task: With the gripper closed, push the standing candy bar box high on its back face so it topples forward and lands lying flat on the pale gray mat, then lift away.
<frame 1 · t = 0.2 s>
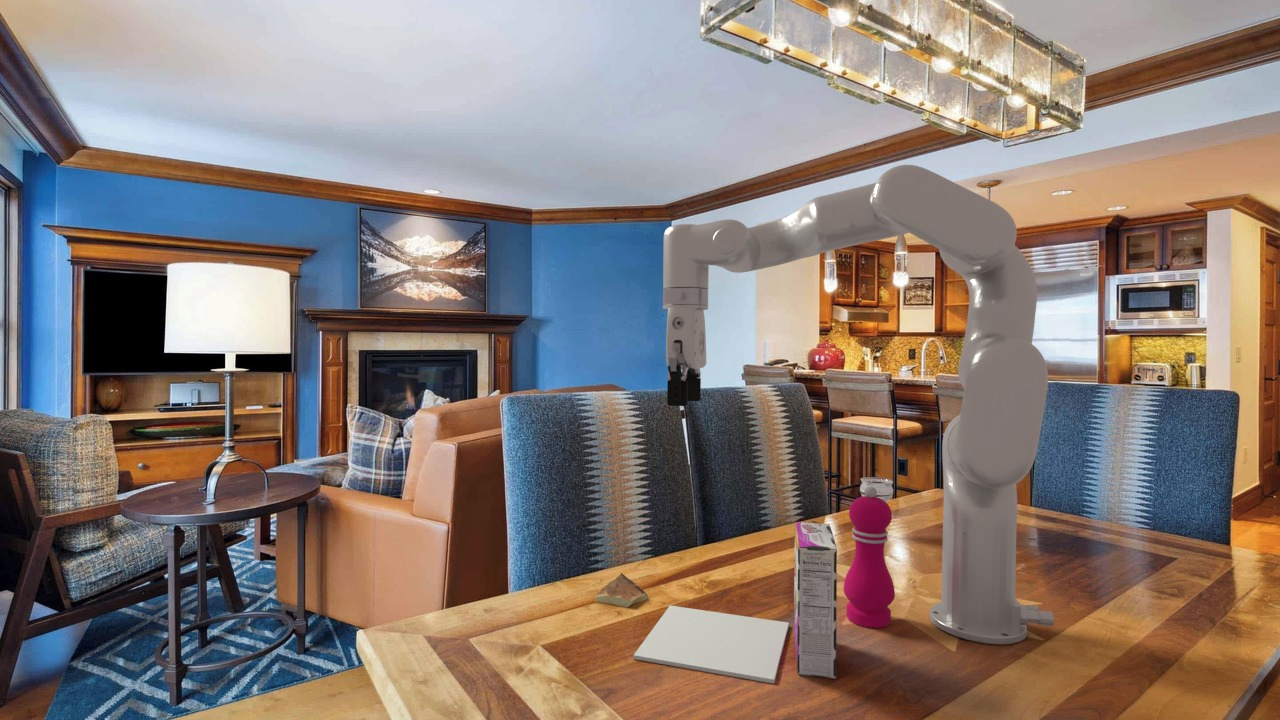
hand: (684, 403, 108), 31 cm above the table, fingers open, 9 cm apart
pepper mill: (868, 620, 97), on the table
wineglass: (875, 536, 140), on the table
shard: (615, 598, 106), on the table
pale gray mat: (715, 641, 89), on the table
candy bar box: (813, 658, 85), on the table
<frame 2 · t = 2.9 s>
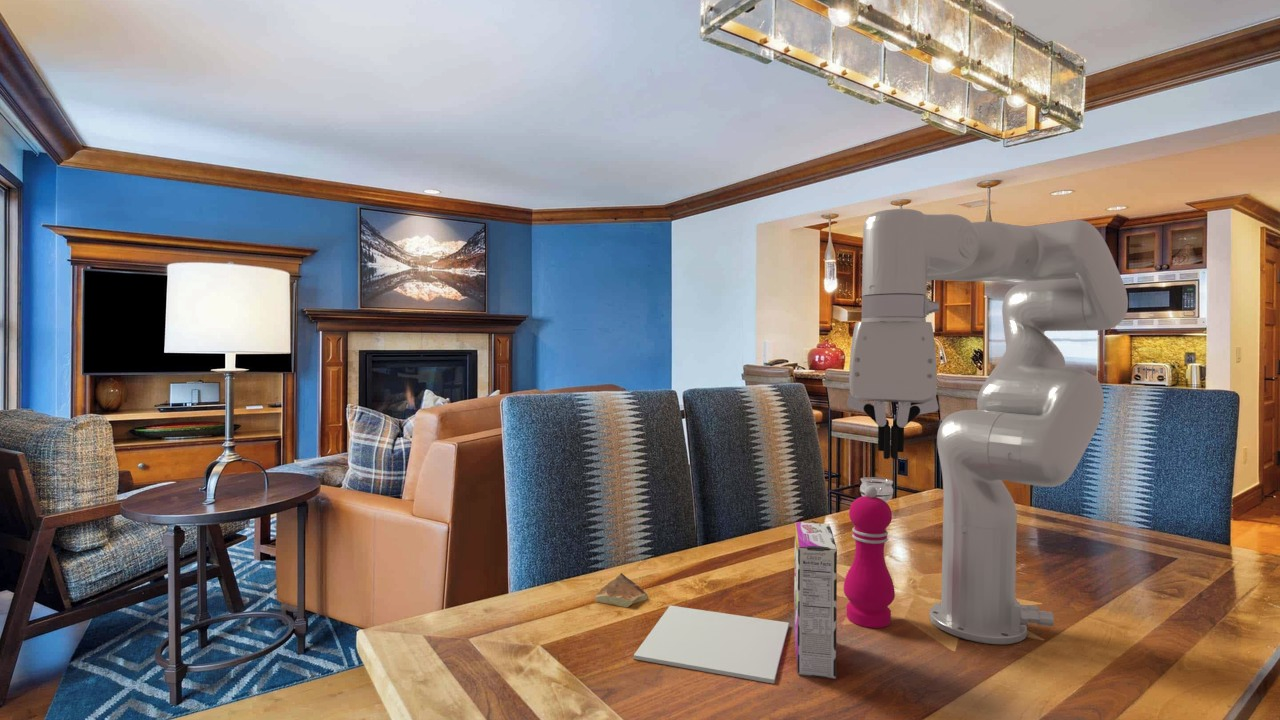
hand: (890, 457, 81), 27 cm above the table, fingers closed
nothing on the table moved.
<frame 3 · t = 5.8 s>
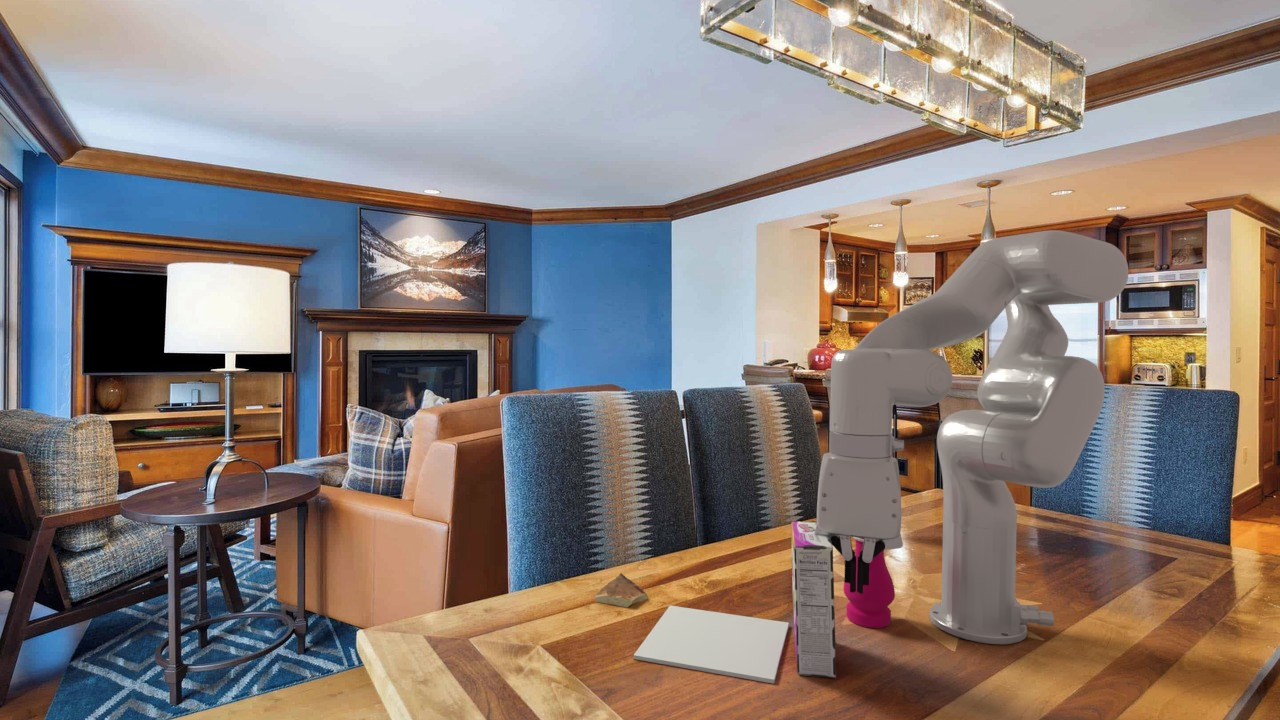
hand: (856, 589, 83), 10 cm above the table, fingers closed
candy bar box: (813, 658, 85), on the table, touching gripper
everything else where it was.
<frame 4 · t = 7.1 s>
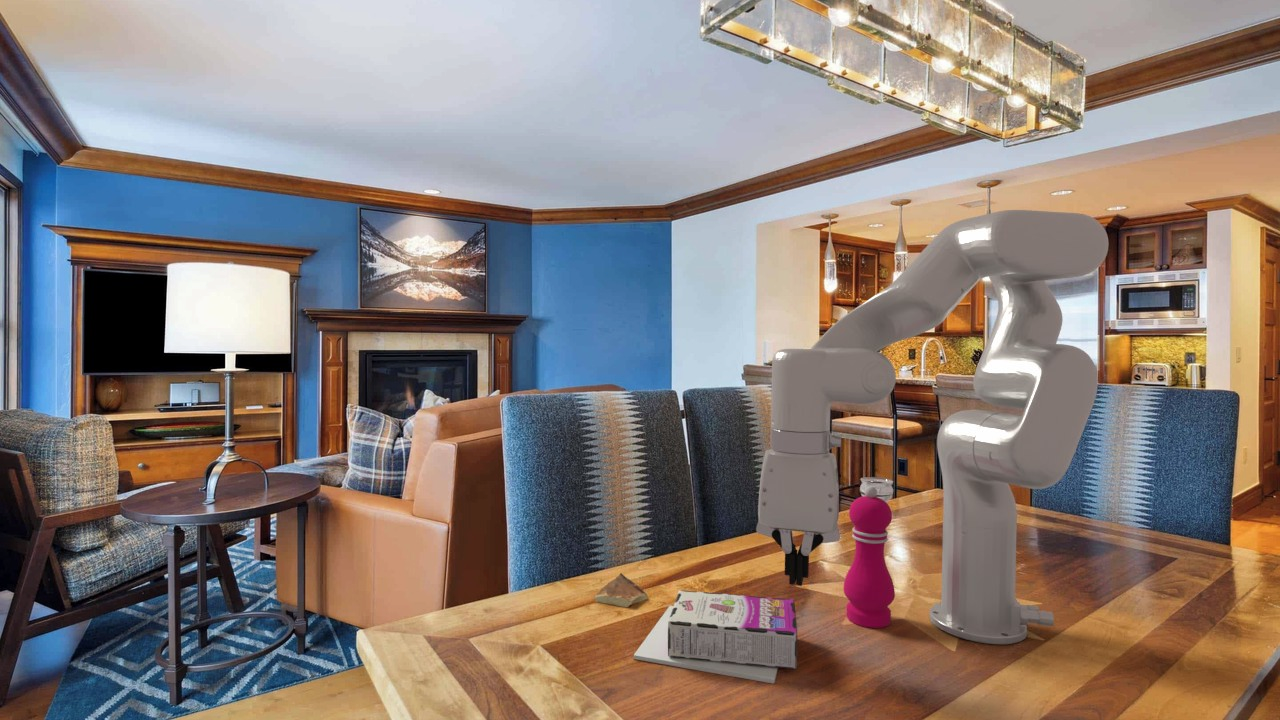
hand: (796, 581, 85), 10 cm above the table, fingers closed
candy bar box: (797, 633, 85), point 3 cm above the table, touching pale gray mat
everything else where it was.
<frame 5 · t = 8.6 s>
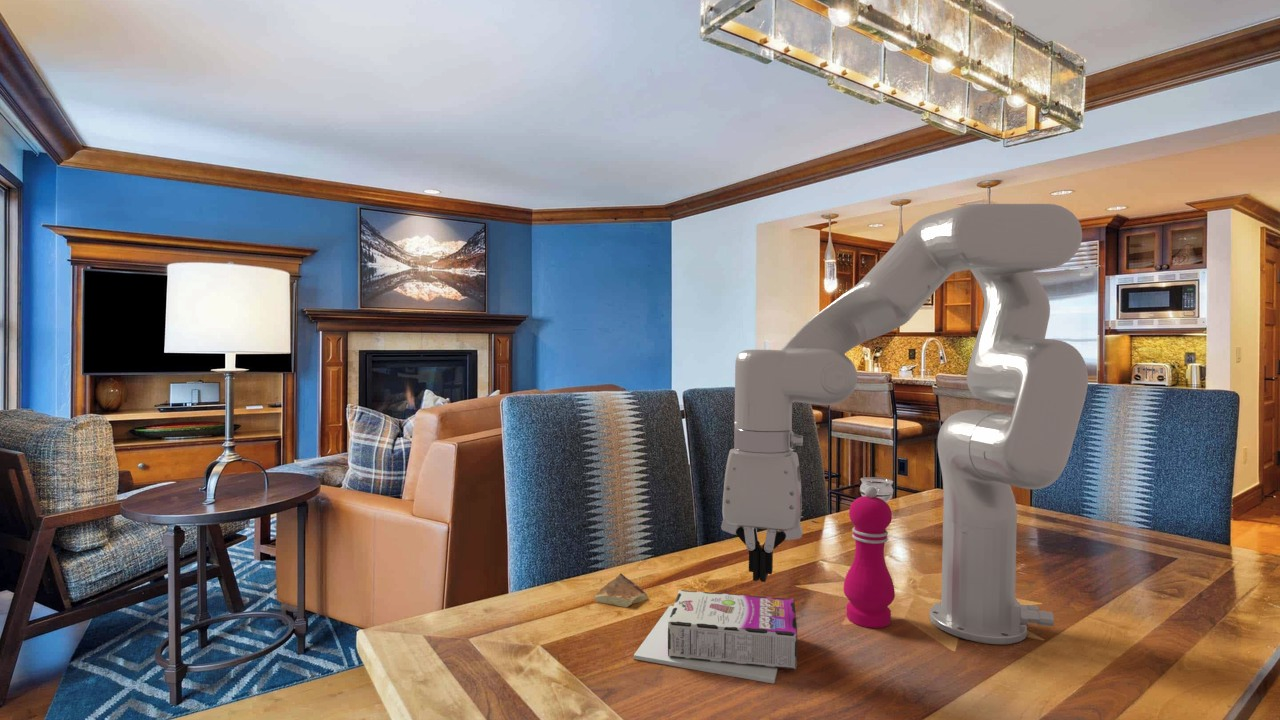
hand: (760, 577, 87), 10 cm above the table, fingers closed
nothing on the table moved.
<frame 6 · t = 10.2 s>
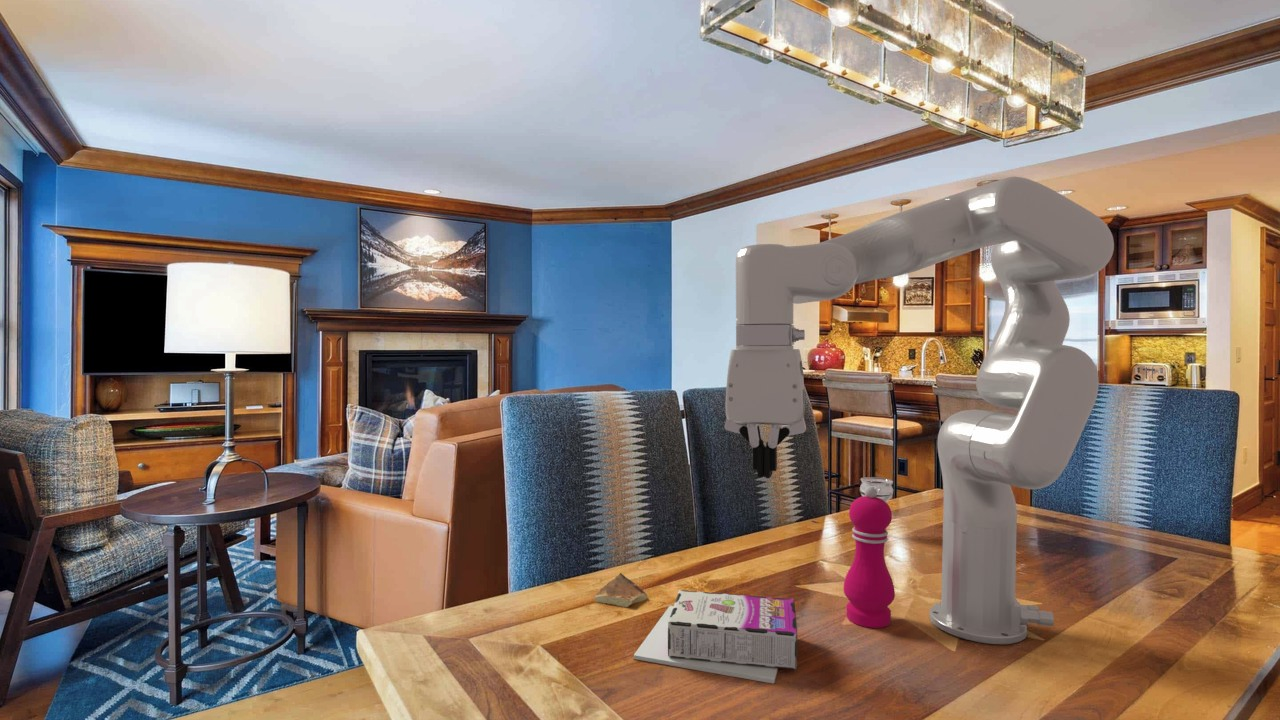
hand: (764, 475, 87), 23 cm above the table, fingers closed
nothing on the table moved.
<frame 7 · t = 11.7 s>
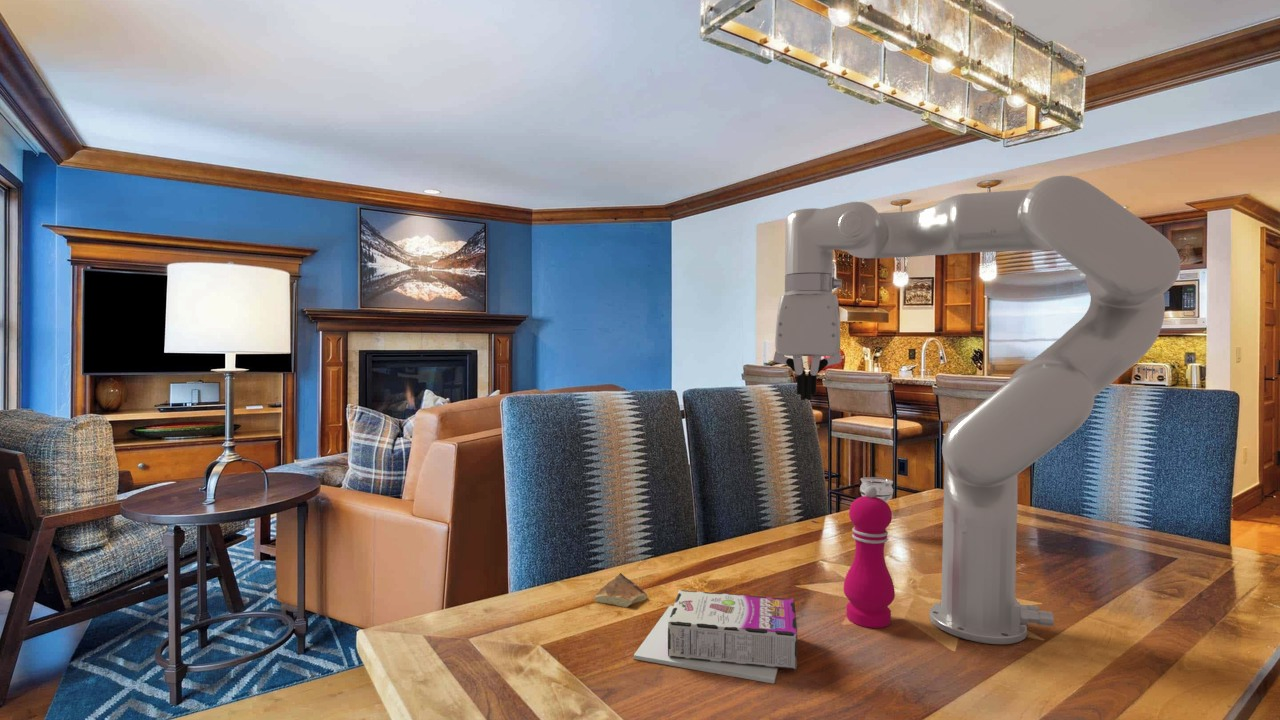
hand: (806, 399, 106), 32 cm above the table, fingers closed
nothing on the table moved.
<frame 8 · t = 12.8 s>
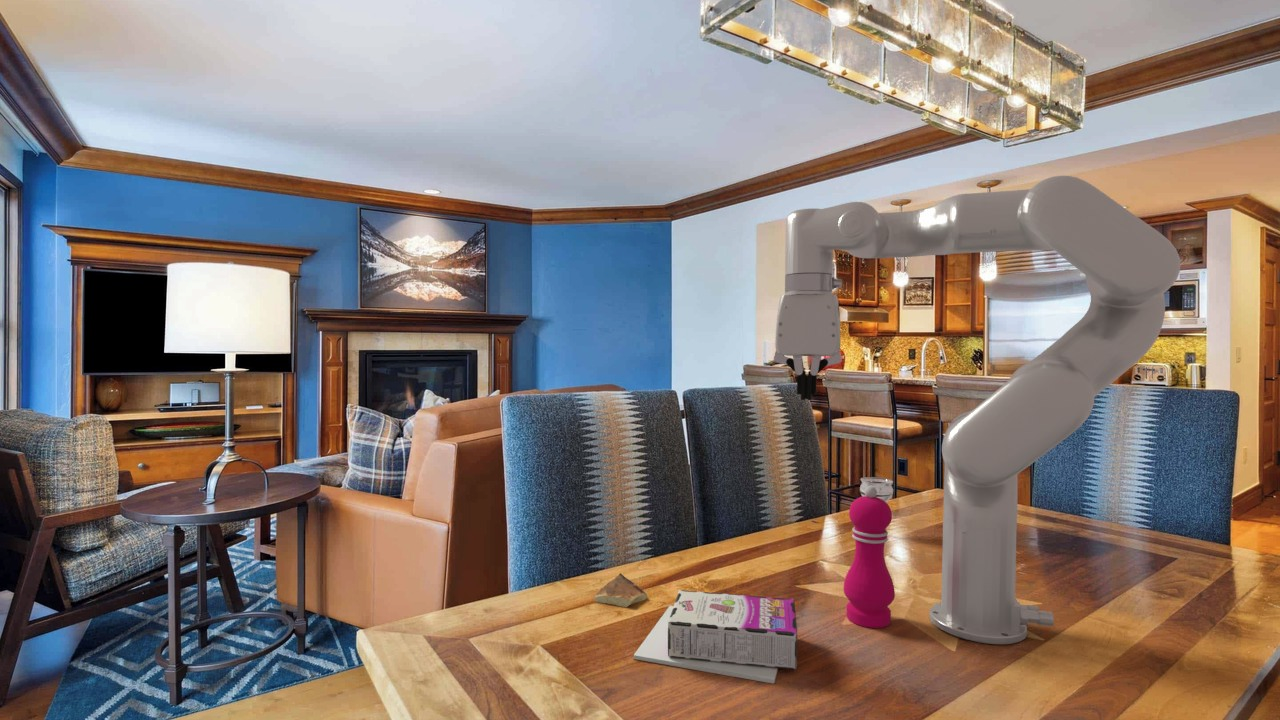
hand: (806, 399, 106), 32 cm above the table, fingers closed
nothing on the table moved.
at the end: candy bar box tilted 90°; candy bar box touching pale gray mat; candy bar box inside the target area (7.0 cm from its centre), point 2.9 cm above the table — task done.
